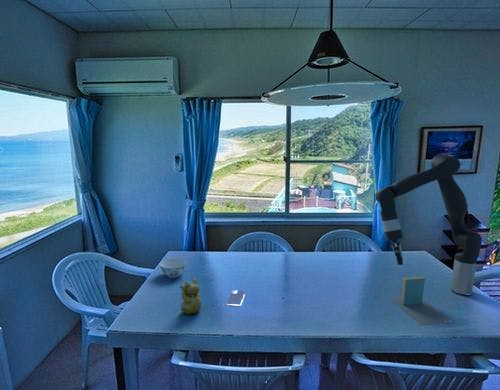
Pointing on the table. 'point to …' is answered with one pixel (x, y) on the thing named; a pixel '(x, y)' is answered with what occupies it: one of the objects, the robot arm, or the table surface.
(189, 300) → the decorative figurine
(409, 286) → the tile
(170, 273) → the chinaware
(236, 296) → the mobile phone
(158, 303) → the table surface
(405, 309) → the mat
